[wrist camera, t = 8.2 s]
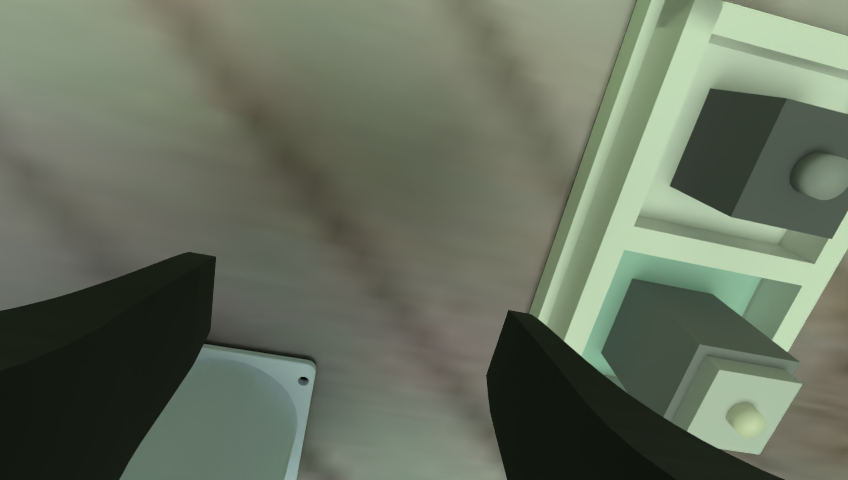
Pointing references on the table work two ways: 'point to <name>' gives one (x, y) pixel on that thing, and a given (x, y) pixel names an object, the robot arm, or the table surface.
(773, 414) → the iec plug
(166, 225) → the table surface
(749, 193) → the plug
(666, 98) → the pale green compartment tray
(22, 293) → the table surface
